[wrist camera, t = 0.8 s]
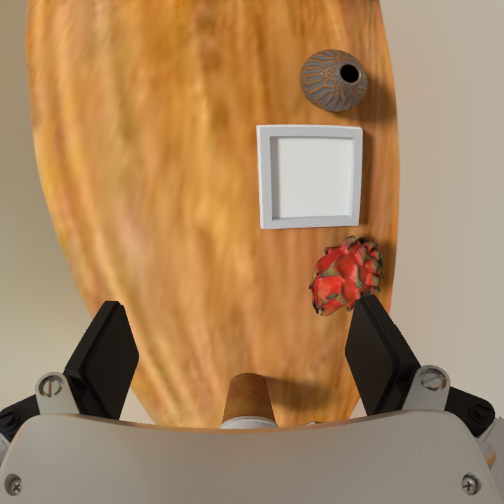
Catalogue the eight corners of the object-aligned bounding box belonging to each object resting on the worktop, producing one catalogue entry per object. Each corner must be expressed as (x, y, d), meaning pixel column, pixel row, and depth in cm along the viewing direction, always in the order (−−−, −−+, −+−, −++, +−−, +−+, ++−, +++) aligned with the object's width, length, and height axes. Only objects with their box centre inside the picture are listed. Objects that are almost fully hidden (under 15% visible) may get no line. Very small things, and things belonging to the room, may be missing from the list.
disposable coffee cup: (222, 399, 50) (220, 453, 39) (218, 366, 46) (214, 426, 35) (273, 398, 50) (279, 452, 39) (276, 365, 46) (283, 425, 35)
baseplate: (256, 125, 31) (257, 125, 29) (357, 126, 31) (364, 127, 29) (260, 225, 36) (261, 231, 34) (353, 221, 36) (360, 227, 34)
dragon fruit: (368, 225, 38) (313, 282, 43) (340, 212, 32) (277, 282, 37) (407, 271, 33) (344, 328, 39) (388, 268, 27) (311, 337, 33)
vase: (298, 113, 30) (316, 110, 22) (291, 57, 27) (307, 37, 20) (354, 112, 30) (387, 111, 22) (348, 58, 27) (379, 42, 19)
